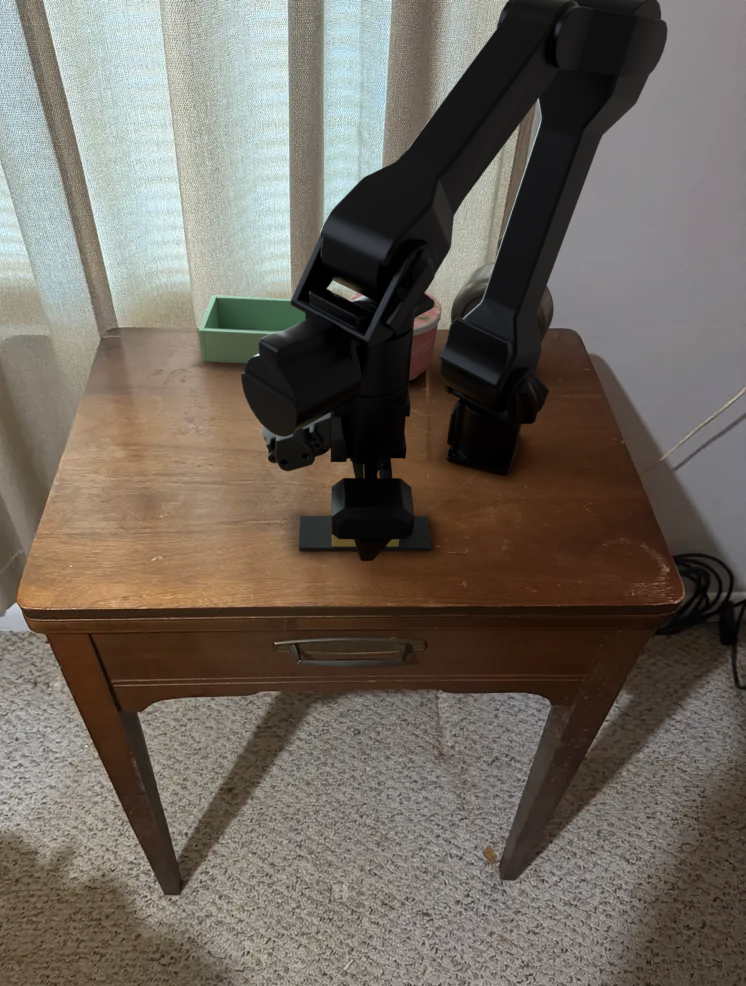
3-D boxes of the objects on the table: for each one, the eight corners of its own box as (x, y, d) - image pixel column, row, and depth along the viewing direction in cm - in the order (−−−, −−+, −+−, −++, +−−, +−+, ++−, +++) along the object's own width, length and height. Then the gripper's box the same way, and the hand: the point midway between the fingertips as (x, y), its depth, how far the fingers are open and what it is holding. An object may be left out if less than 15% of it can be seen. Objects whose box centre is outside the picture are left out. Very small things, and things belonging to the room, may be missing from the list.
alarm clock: (541, 365, 90) (573, 230, 78) (530, 389, 87) (562, 251, 75) (454, 344, 93) (472, 212, 82) (440, 366, 90) (456, 231, 78)
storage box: (316, 333, 95) (315, 299, 92) (309, 370, 89) (308, 335, 86) (216, 328, 95) (212, 294, 92) (202, 364, 89) (197, 330, 86)
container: (414, 403, 84) (421, 339, 79) (330, 379, 88) (330, 316, 82) (447, 357, 91) (455, 295, 85) (367, 337, 94) (370, 276, 88)
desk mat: (427, 518, 71) (427, 515, 71) (431, 550, 68) (431, 547, 68) (300, 518, 71) (300, 515, 71) (298, 550, 68) (298, 547, 68)
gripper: (272, 314, 64) (280, 457, 75) (258, 453, 51) (270, 602, 62) (403, 314, 64) (392, 457, 75) (423, 453, 51) (406, 601, 62)
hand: (364, 522), depth 69 cm, fingers open, 9 cm apart
